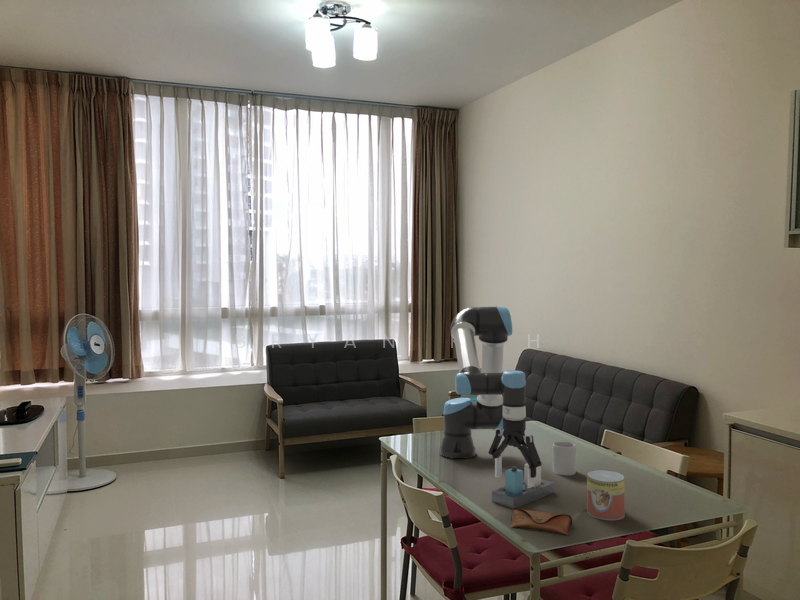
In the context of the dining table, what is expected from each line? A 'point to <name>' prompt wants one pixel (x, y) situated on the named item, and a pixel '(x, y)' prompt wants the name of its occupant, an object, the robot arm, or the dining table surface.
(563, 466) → the mug
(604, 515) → the canned food
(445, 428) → the robot arm
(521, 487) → the plug
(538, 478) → the white knobbed block
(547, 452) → the dining table surface
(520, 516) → the sunglasses case
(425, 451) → the dining table surface
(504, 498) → the strip
